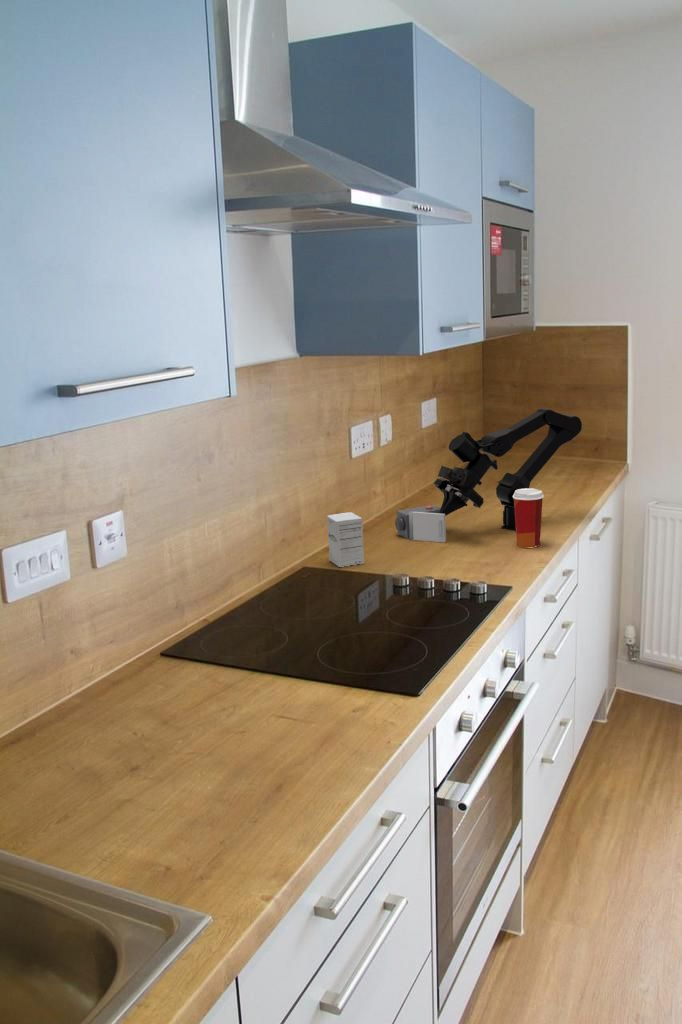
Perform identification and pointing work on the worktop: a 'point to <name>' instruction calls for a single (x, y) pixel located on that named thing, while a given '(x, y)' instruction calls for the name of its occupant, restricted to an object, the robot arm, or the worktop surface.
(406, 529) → the box
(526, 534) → the coffee cup
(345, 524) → the supplement box
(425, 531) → the side door
